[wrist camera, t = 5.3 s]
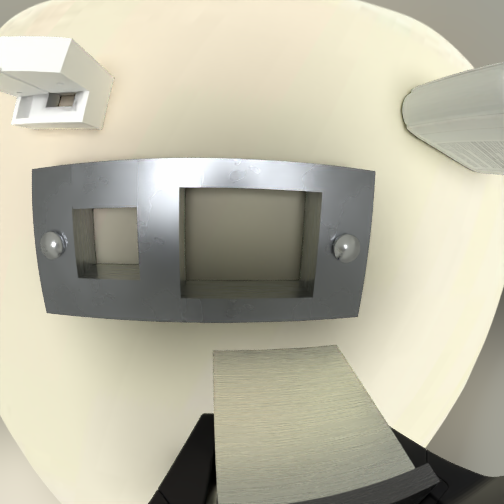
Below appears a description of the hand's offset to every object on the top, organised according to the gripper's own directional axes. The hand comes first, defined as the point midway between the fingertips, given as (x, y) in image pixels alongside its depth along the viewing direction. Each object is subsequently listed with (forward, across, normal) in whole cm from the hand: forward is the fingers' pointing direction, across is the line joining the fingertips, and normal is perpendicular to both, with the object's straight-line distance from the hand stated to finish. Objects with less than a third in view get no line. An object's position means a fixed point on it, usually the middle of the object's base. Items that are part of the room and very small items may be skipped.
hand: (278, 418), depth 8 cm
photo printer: (+12, -16, -12) cm, 24 cm away
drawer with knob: (+1, 0, 0) cm, 1 cm away
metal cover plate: (+12, +3, -3) cm, 12 cm away
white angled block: (+12, +12, -12) cm, 21 cm away
